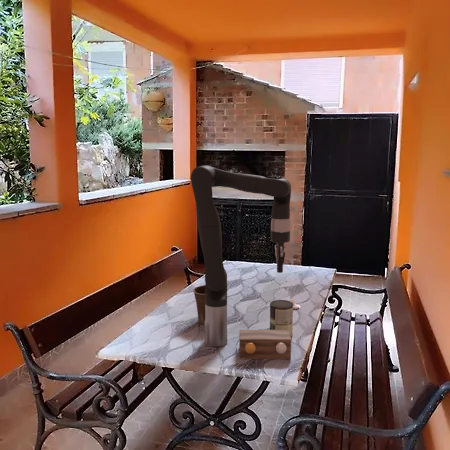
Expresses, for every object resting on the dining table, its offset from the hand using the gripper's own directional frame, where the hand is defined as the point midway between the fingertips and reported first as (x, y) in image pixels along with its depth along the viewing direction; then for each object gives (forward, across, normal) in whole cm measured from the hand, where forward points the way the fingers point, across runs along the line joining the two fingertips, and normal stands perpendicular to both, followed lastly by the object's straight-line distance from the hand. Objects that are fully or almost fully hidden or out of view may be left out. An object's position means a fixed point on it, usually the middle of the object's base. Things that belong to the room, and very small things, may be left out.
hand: (279, 272), depth 193 cm
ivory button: (+30, +7, 0) cm, 31 cm away
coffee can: (+33, -18, +3) cm, 38 cm away
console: (+33, +3, -6) cm, 34 cm away
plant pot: (+33, -32, -29) cm, 55 cm away
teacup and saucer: (+34, -53, +11) cm, 64 cm away
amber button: (+30, +7, -12) cm, 33 cm away
